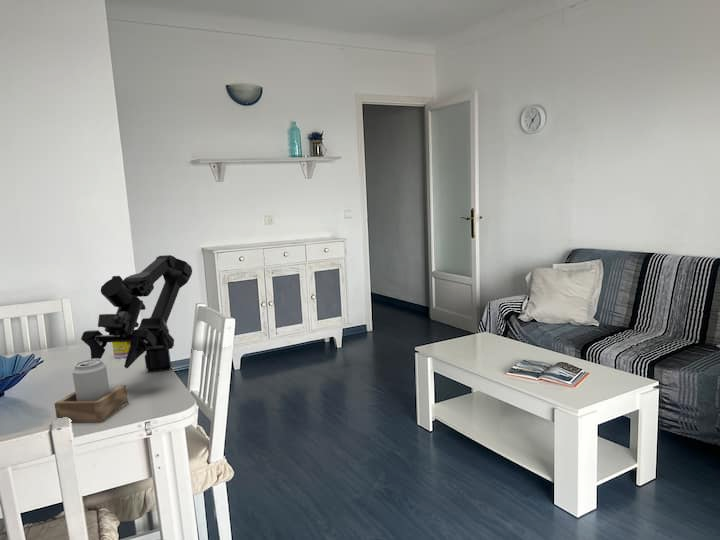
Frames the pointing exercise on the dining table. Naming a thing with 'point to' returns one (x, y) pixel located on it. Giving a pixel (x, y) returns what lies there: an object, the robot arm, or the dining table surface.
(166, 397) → the dining table surface
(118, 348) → the supplement bottle
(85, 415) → the u rest
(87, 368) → the can
